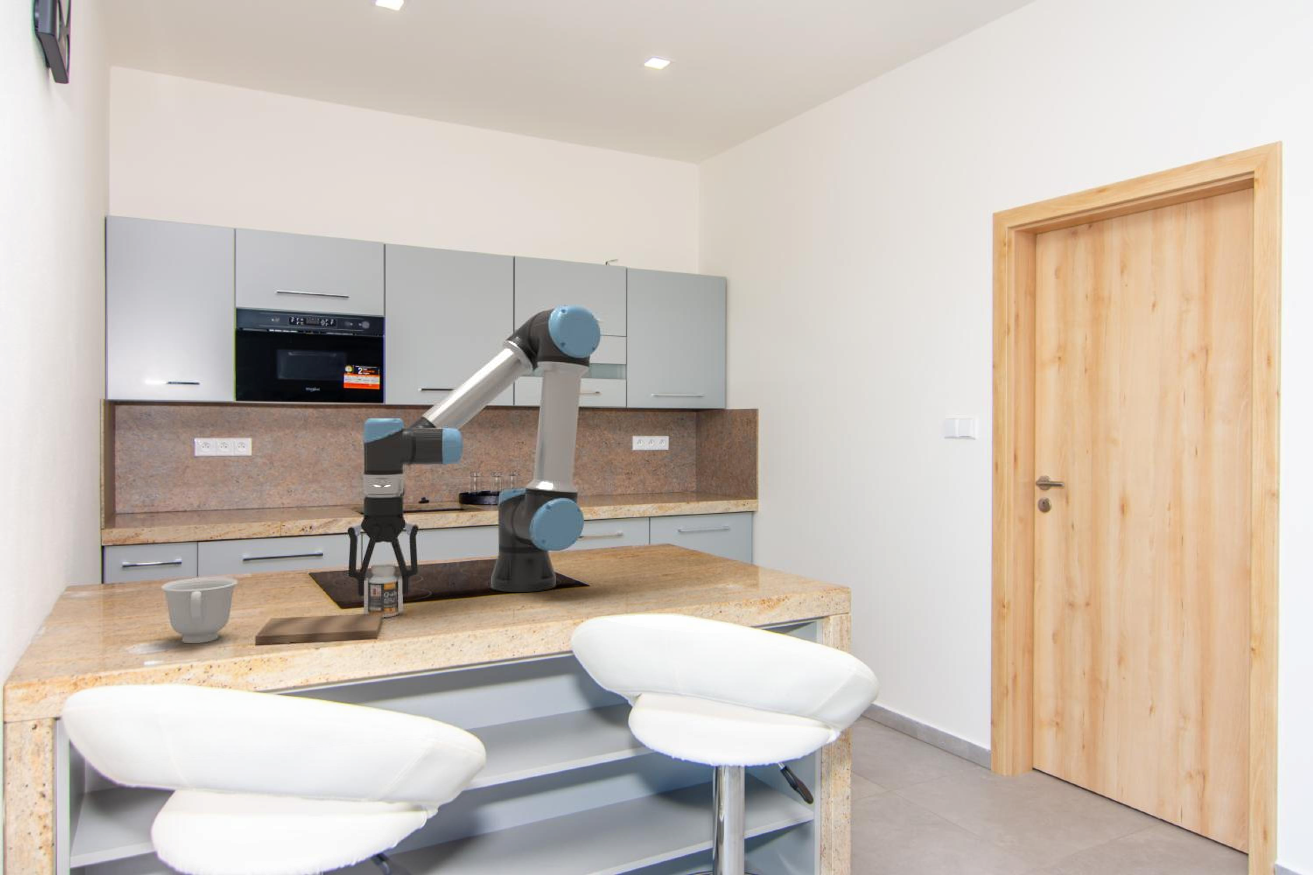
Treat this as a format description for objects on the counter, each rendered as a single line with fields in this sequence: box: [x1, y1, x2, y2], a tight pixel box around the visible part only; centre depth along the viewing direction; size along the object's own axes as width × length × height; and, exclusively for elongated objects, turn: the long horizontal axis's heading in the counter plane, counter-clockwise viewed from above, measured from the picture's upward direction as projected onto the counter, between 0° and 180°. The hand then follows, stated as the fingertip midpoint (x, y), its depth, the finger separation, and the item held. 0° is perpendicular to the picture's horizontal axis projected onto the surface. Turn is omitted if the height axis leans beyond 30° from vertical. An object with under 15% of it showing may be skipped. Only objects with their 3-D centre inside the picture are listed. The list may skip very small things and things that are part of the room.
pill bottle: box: [368, 563, 399, 619], centre depth 172 cm, size 6×6×10 cm
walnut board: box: [254, 613, 383, 646], centre depth 158 cm, size 20×14×2 cm
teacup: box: [160, 576, 239, 644], centre depth 151 cm, size 12×15×10 cm
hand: (383, 610), depth 172 cm, fingers closed on pill bottle, 6 cm apart
